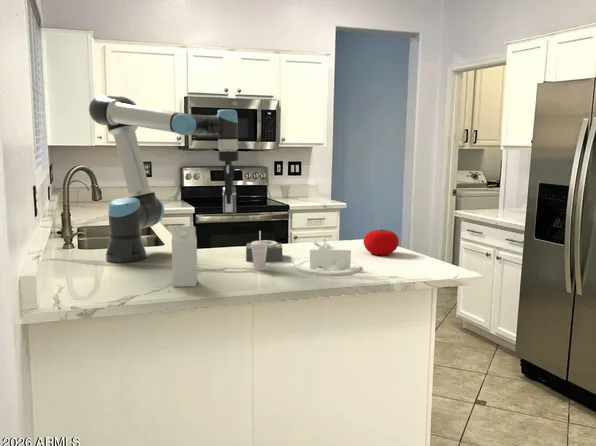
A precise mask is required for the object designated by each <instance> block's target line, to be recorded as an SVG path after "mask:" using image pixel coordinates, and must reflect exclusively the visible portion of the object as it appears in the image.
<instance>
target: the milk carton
mask: <svg viewBox="0 0 596 446" xmlns="http://www.w3.org/2000/svg"><path fill="white" fill-rule="evenodd" d="M196 231H197V230H196V226H193V225H192V226H191V225H190V226H187V225H186V226H185V225H184V226H181V225H180V226H172V233H171V259H172V261H171V263H172V264H171V265H172V287H173V288H175V287H176V288H178V287H181V288H182V287H196V285H197V282H198V246H197V245H198V242H197V241H198V239H197V233H196Z"/></svg>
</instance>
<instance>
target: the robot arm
mask: <svg viewBox="0 0 596 446" xmlns="http://www.w3.org/2000/svg"><path fill="white" fill-rule="evenodd" d="M88 112H89V116H90V117H91V119H92V120H93V121H94V122H95V123H97V124H98V125H103V126H107V131H108V133H109V134H110V135H112V136H113V138H114V141H115V146H116V149H117V153H118V158H119V161H120V165H121V169H122V173H123V177H124V181H125V184H126V189H127V192H128V194H127V196H126V197H123V198H122V197H121V198H116V199H113V200H111V201H110V202H109V204H108V212H107V214H108V223H109V224H108V225H109V226H108V227H109V243H108V247H107V249H106V253H105V259H106V261H107V262H110V263H132V262H133V263H134V262H139V261H143V260H145V259H146V258H147V251H146V249H145V245H144V243H143V239H142V231H141V230H142V229H145V228H150V227H153V226H155V225H158V223H160V222H161V221H162V220H163V218H164V214H165V207H164V204H163V202H162V201H161V200H160V199H159V198H157V196H156V193H155V191H154V190H153V189H151V188H150V185H149V181H148V180H149V179H148V177H147V173H146V170H145V165H144V162H143V157H142V152H141V149H140V146H139V145H140V144H139V142H138V137H137V133H136V131H137V129H138V128H140V127H141V128H145V129H150V130H151V129H152V130H156V131H164V132H167V133H168V132H169V133H175V134H178V135H180V136H200V137H201V136H217V143H218V144H217V150H219V151H218V161H219V162H224V165H223V167H222V169H223V177H224V187H225V193H223V192H222V193H223V194H222V196H223V195H225V212H233V202H232V187H234V170H235V165H233V162H238V161H239V151H238V150H239V145H240V142H239V136H238V135H239V134H238V133H239V129H238V128H239V127H238V125H239V121H238V120H239V119H238V112H237V110H236V109H218V110H217V114H214V115H211V114H210V115H209V114H208V115H204V114H203V115H202V114H191V113H183V112H178V111H177V112H176V111H172V110H171V111H170V110H165V109H161V108H160V109H158V108H153V107H147V106H139V105H137V103H135V101H134V100H132V99H131V98H127V97H125V96H119V95H118V96H115V95H107V94H102V95H97V96H96V97H94V98H93V99H92V100H91V101H90V103H89V107H88Z"/></svg>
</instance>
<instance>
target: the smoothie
mask: <svg viewBox="0 0 596 446" xmlns="http://www.w3.org/2000/svg"><path fill="white" fill-rule="evenodd" d="M258 235H259V236H258V238H259V240H258V241H259V242H253V241H251V242H252V243H251V247H252V255H253V261H252V262H253V268H254V269H253V270H254V271H259V272H260V271H264V270H265V269H266V262H267V261H266V254H267V247H268V243H267V242H261V240H262V237H261V236H262V231H261V230H259V231H258Z"/></svg>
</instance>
